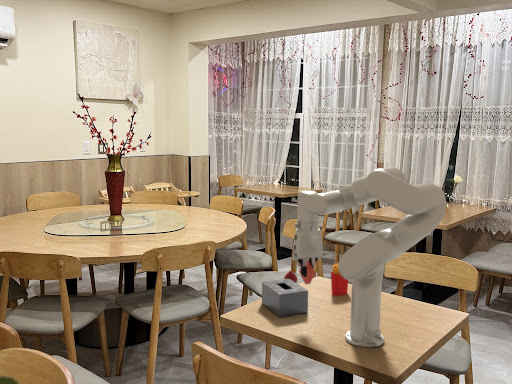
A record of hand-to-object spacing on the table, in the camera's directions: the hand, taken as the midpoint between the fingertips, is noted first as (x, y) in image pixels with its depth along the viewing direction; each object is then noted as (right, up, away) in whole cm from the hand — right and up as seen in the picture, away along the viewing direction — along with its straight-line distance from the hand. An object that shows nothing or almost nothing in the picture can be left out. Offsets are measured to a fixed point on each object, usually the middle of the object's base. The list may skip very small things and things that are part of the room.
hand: (307, 275), depth 178 cm
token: (-1, -1, +2) cm, 2 cm away
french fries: (+17, -13, +32) cm, 39 cm away
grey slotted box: (-7, -15, +14) cm, 22 cm away
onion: (-3, -12, +40) cm, 42 cm away
